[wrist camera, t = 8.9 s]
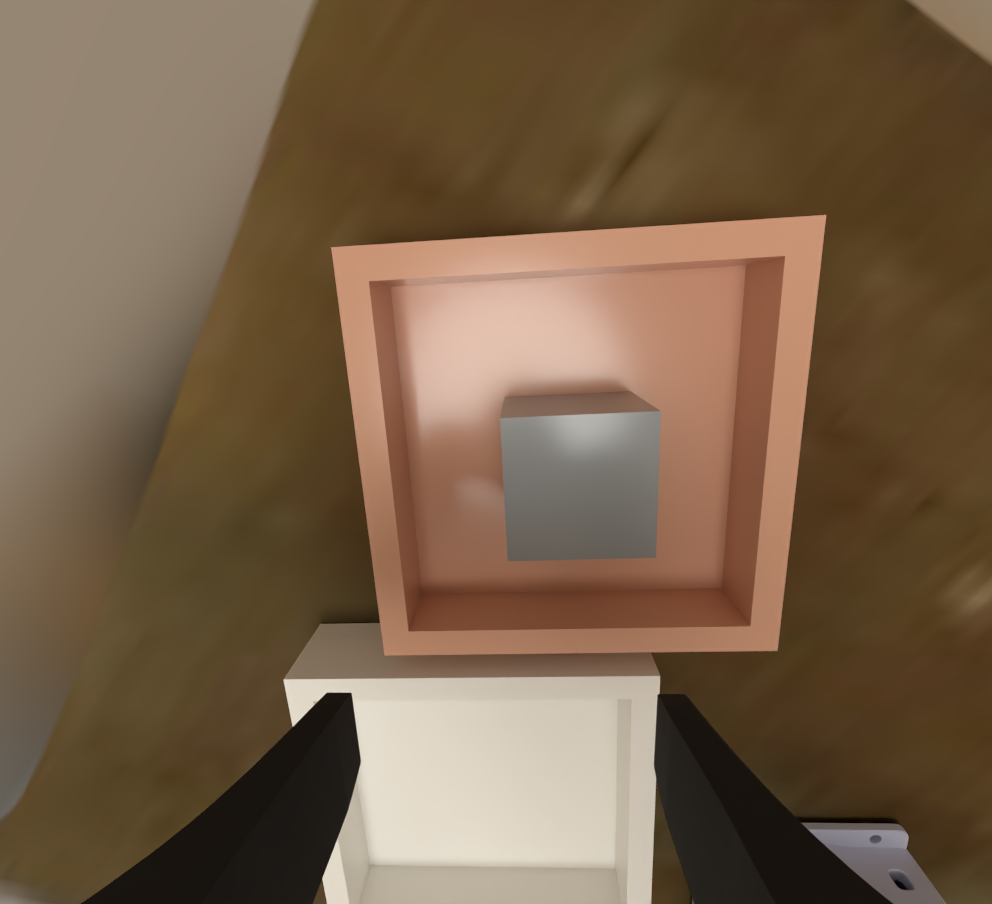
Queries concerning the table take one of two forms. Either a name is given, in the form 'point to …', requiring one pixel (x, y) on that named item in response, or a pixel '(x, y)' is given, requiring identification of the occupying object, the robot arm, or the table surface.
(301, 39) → the table surface
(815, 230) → the bin
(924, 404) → the table surface
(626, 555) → the gray cube
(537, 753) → the tub
